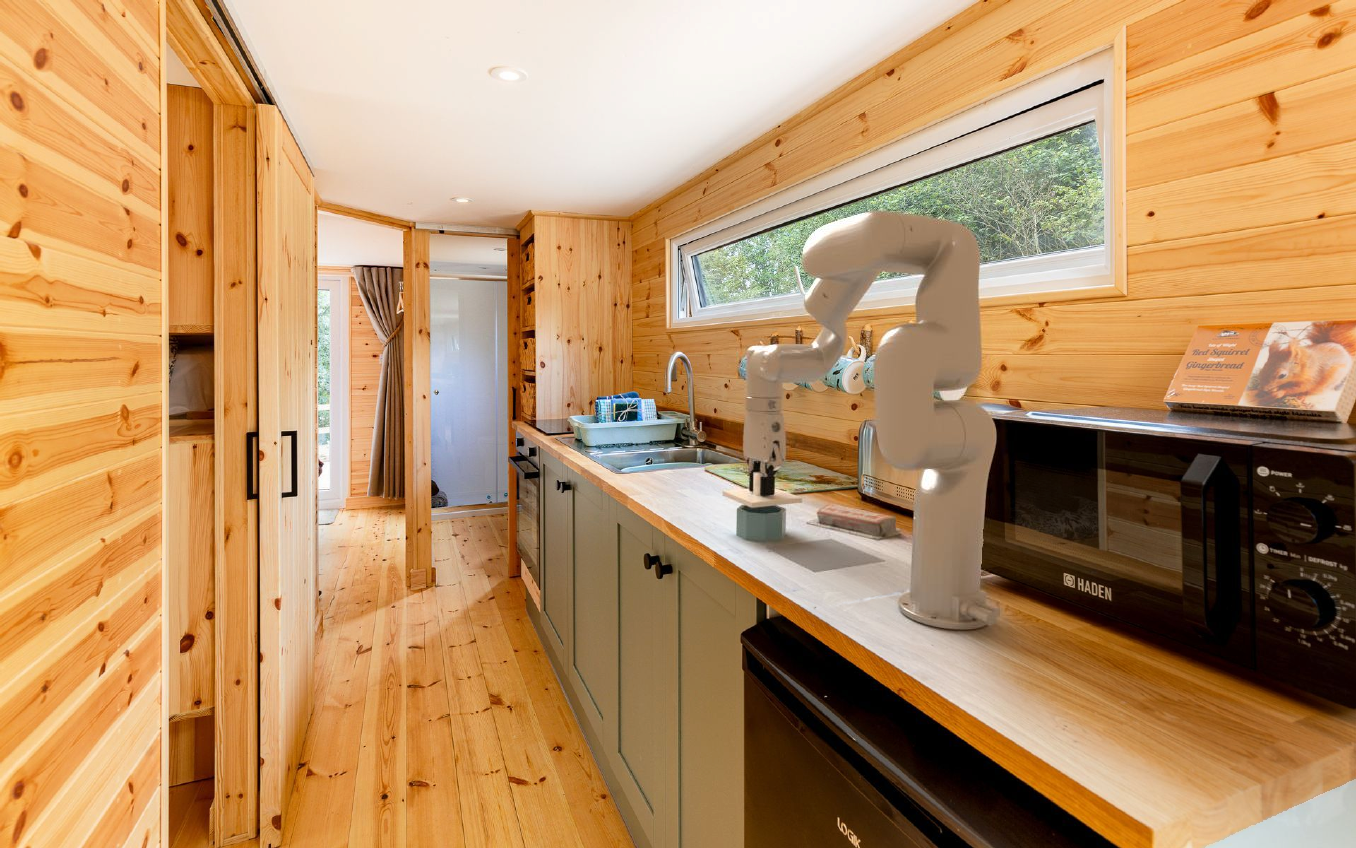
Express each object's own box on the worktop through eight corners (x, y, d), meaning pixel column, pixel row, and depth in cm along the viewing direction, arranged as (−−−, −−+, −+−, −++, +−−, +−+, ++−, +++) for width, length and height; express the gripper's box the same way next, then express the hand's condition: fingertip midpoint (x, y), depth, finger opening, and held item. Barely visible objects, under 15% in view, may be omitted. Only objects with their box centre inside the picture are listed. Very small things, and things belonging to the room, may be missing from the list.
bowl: (793, 540, 134) (793, 511, 133) (753, 545, 130) (753, 516, 129) (767, 528, 143) (768, 502, 142) (729, 533, 139) (730, 506, 138)
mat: (885, 562, 120) (885, 560, 120) (814, 574, 113) (814, 572, 113) (830, 540, 134) (831, 538, 134) (765, 549, 128) (765, 547, 128)
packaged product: (902, 513, 139) (878, 521, 133) (901, 535, 140) (877, 544, 133) (831, 500, 152) (806, 506, 146) (830, 520, 153) (805, 527, 146)
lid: (802, 502, 133) (802, 476, 132) (751, 507, 128) (752, 480, 127) (770, 491, 144) (770, 466, 143) (722, 495, 139) (723, 470, 138)
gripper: (802, 408, 128) (799, 499, 130) (758, 402, 143) (756, 484, 145) (770, 409, 125) (767, 503, 126) (728, 403, 140) (726, 487, 141)
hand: (761, 492), depth 136 cm, fingers closed on lid, 3 cm apart
